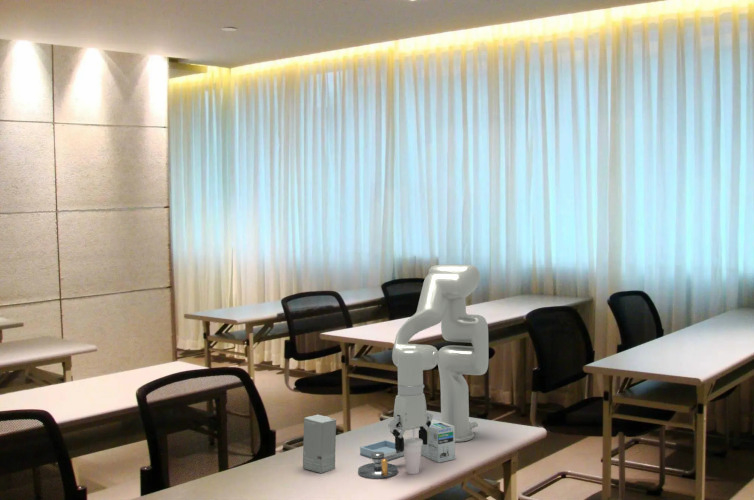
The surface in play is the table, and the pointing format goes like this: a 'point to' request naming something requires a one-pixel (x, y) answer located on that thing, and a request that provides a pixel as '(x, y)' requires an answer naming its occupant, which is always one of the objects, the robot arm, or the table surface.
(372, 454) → the crank
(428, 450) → the light bulb box
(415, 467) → the smoothie
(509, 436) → the table surface
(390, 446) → the tray
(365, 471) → the crank base
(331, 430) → the skincare box
